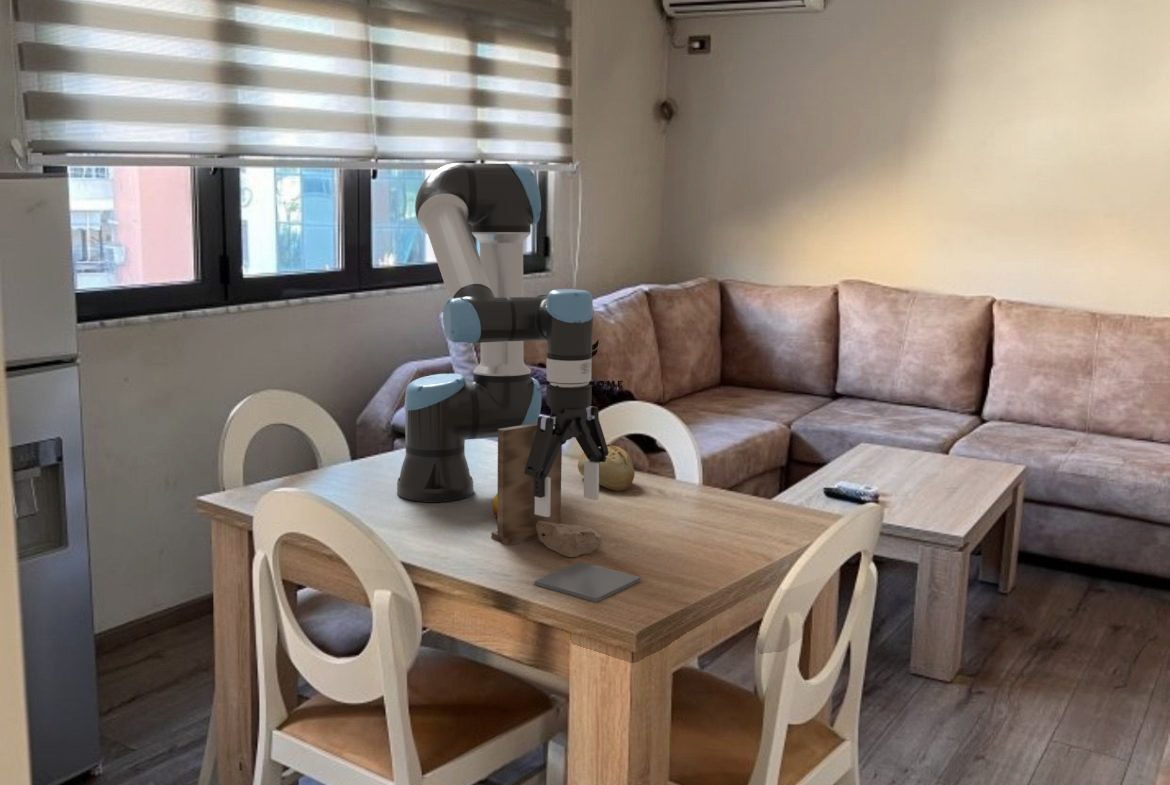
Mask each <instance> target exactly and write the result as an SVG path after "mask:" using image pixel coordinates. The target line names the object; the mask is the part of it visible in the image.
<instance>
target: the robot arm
mask: <svg viewBox="0 0 1170 785" xmlns="http://www.w3.org/2000/svg"><path fill="white" fill-rule="evenodd" d="M414 203H415V205H414V208H415V209H414V211H415V215H416V216H415V217H416V220H417V223H418V225H419V227H420V229H421V231H422V232H424V233H425V234H426V235H428V238H429V239H428V240H429V242H430V244H431V248H432V251H433V254H434V256H435V259H436V262H437V266H438V268H439V272H440V273H441V274H440V275H441V278H442V280H443V283H444V284H443V285H444V286H445V289H446V293H447V295H448V299H447V300H446V301H445V303H444V306H443V313H442V316H443V317H442V323H443V330H444V334H445V336H446V338H447V340H448V341H450V342H451V343H467V344H477V343H478V344H480V362H479V364H478V365H477V366H476V367H475V368H474V369H473V372H472V373H473V374H472V378H473V379H472V380H466V379H465V376H464V375H462V374H461V373H454V372H453V373H437V374H431V375H428V376H427V375H425V376H422V377H419V378H417V379H414V380H413V381H411V382H410V383H409V384H407V387H406V388H405V396H404V397H405V398H404V406H403V408H404V410H405V411H404V414H405V415H404V416H405V417H404V419H405V420H404V422H405V430H404V432H405V455H404V460H403V462H402V466H401V468H400V475H399V477H398V478H397V482H396V494H397V495H398V496H399V497H401V498H402V499H405V500H409V501H414V502H425V503H444V502H446V503H447V502H453V501H459V500H462V499H465V498H466V499H467V498H468V497H469V496H472V495H473V494H474V480H473V477H472V475H471V474H470V468H469V464H468V462H467V461H468V460H467V458H466V453H465V452H466V451H465V449H466V448H465V443H466V440H467V441H469V440H478V439H479V440H481V439H493V438H496V439H498V429H501V428H508V427H514V426H520V425H526V424H533V423H537V431H536V434H535V438H534V441H533V444H532V447H531V451H530V454H529V457H528V461H527V464H526V467H525V471H524V473H525V474H526V475H529V476H533V478H534V496H535V514H536V515H540V516H544V517H549V516H550V497H551V478H549V477H547V475H548V473H549V471H550V469H551V467H552V465H553V463H554V461H555V459H556V456H557V454H558V452H559V450H560V448H561V446H562V447H563V445H565V444H566V442H567V441H569V440H572V439H573V438H574V439H576V442H577V443H578V444H579V446H580V448H581V450H582V452H583V453H585V455H586V457H587V458H588V460H590V461H584V476H583V498H585V499H587V500H588V499H589V500H592V501H593V500H594V501H597V500H600V496H599V495H600V484H599V477H600V462H605V461H606V456H607V455H608V453H609V451H608V448H607V445H608V444H607V442H606V438H605V434H604V432H603V429H602V425H601V422H600V419H599V417H600V416H599V407H597V406H592V385H591V384H590V382H591V381H592V364H593V363H592V359H593V358H592V357H593V329H594V328H593V327H594V326H593V325H594V322H593V321H594V315H595V313H594V307H593V306H594V304H593V295H592V293H591V292H590V291H588V290H585V289H578V288H577V289H576V288H558V289H553V290H550V291H549V292H548V294H537V295H534V296H524V241H525V240H526V239H527V238H528V237H529V236H530V235H531V233H532V230H531V229H532V228H531V227H532V226H534V225H536V224H537V223H538V222H539V221H540V218H541V212H542V200H541V193H540V188H539V183H538V180H537V178H536V176H535V174H534V172H533V170H531V168H530V167H528V166H526V165H523V164H515V163H508V162H506V163H463V162H454V163H449V164H448V163H447V164H445V165H442V166H441V167H439V168H437V169H435V170H434V171H433V172H431V173H430V174H429V175H428V176H427V177H426V178H425V180H424V181H423V183H421V185H420V187H419V189H418V192H417V194H416V197H415V202H414ZM469 225H471V229H470V227H469ZM473 236H474V238H476V239H477V240H478V243H479V251H478V249H477V246H476V243H475V241H474V238H473ZM529 341H530V342H531V341H532V342H533V341H534V342H535V341H546V366H545V367H546V369H545V370H546V371H545V372H546V374H545V375H546V376H545V379H546V381H547V382H548V383H547V385H546V389H545V391H546V393H545V394H546V395H545V396H546V397H545V398H546V400H545V401H546V405H547V406H548V408H550V411H551V412H550V415H549V417H548V416H543V415H542V416H541V415H540V414H541V408H542V393H541V389H542V388H541V385H540V383H539V380H537V379H536V378H534V377H532V369H530V368H529V367H528V365H526V363H525V362H524V354H525V353H524V342H529ZM554 434H556V436H554ZM599 447H601V448H599ZM532 467H534V468H532ZM542 469H543V470H542ZM541 470H542V471H541Z"/></svg>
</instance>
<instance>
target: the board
mask: <svg viewBox="0 0 1170 785" xmlns="http://www.w3.org/2000/svg"><path fill="white" fill-rule="evenodd" d="M536 431H537V423H533V424H526V425H520V426H514V427H508V428H501V429H498V438H497V493H498V494H497V493H496V494H497V522H496V524H497V526H496V530H495V531H493V532H491V539H493V540H496V541H498V542H500V543H502V544H505V545H506V546H511V545H515V544H520V543H524V542H529V541H532V540H536V539H539V536H538V534H537V530H536V524H537V523H538V521H544V522H549V523H556V524H557V523H559V524H562V523H561V518H562V516H561V514H562V510H561V509H562V464H563V463H562V461H563V460H562V456H563V455H562V451H563V445H562V446H561V448H560V450H559V452H558V454H557V456H556V459H555V461H554V463H553V465H552V467H551V469H550V471H549V473H548V475H547V477H549V478H551V497H550V516H549V517H544V516H540V515H536V514H535V496H534V478H533V476H529V475H526V474H525V473H524V471H525V467H526V464H527V461H528V457H529V454H530V451H531V447H532V444H533V441H534V438H535V434H536ZM554 436H556V434H554ZM532 468H534V467H532ZM542 470H543V469H542ZM542 470H541V471H542Z"/></svg>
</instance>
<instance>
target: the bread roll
mask: <svg viewBox="0 0 1170 785" xmlns="http://www.w3.org/2000/svg"><path fill="white" fill-rule="evenodd" d="M606 445H607V448H608V451H609V453H608V455H607V456H606V461H605V462H600V477H599V486H602V487H604V488H606V489H609V490H611V491H614V490H615V491H614V492H616V491H617V492H618V491H619V492H622V491H625V490H627V489H629V488H630V487H631V485H632V484H633V481H634V479H635V469H634V464H633V460H632V458H631V456H630V454H629V453H628V452H627V451H626V450H625V449H624V448H621V447H620V446H618V445H617V446H616V445H612V444H610V443H609V444H606ZM599 448H601V447H599ZM584 461H590V460H588V458H587V457H586V455H585V453H584V452H583V453H582V454H581V455H580V458H578V463H577V469H578V471H579V474H580V475H581V476H583V477H584Z"/></svg>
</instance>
